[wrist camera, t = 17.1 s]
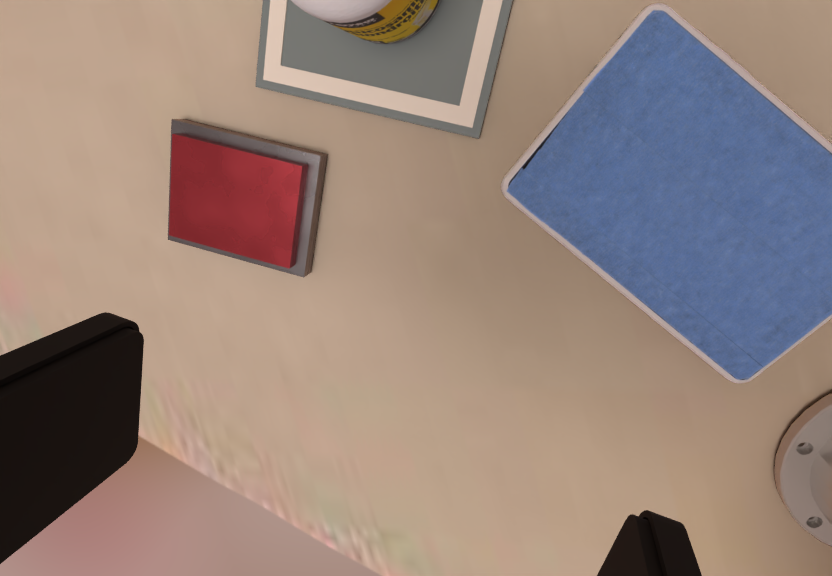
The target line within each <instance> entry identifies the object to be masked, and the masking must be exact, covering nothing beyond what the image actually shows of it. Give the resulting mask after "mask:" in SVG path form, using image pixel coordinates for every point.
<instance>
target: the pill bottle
mask: <svg viewBox="0 0 832 576" xmlns="http://www.w3.org/2000/svg"><path fill="white" fill-rule="evenodd" d="M291 1H292V2H293V3H294V4H295V5H297V6H298V7H299V8H301V9H302V10H303V11H305V12H307V13H308V14H310V15H312V16H314V17H316V18H318V19H321V20H323V21H325V22H327V23H329V24H331V25H333V26H335V27H337V28H339V29H342V30H344V31H346V32H348V33H350V34H352V35H355V36H357V37H359V38H361V39H363V40H366V41H369V42H372V43H378V44H392V43H397V42H401V41H403V40H406V39H408V38H410V37H412V36H413V35H415V34H416V33H418V32H419V31H420V30H421V29H422V28H423V27H424V26H425V25H426V24H427V23H428V22H429V20H430V19H431V18H432V16H433V15H434V13H435V11H436V9H437V7H438V5H439V2H440V0H291Z"/></svg>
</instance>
